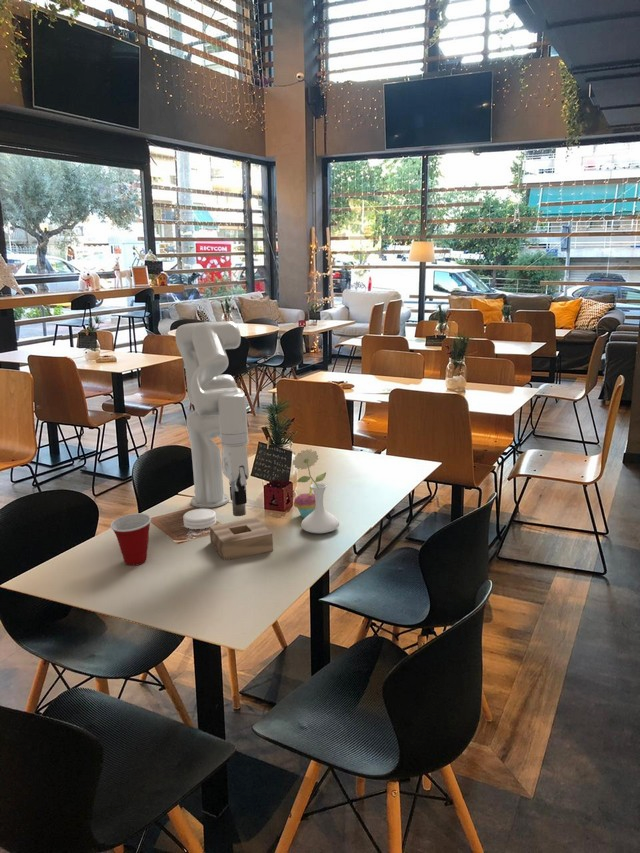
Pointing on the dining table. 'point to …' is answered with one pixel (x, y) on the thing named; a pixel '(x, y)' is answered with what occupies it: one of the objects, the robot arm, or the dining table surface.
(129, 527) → the plastic cup
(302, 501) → the cupcake
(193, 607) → the dining table surface
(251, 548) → the socket block
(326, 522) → the flower in vase
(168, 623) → the dining table surface
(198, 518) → the white round disc stack
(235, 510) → the steel pin
